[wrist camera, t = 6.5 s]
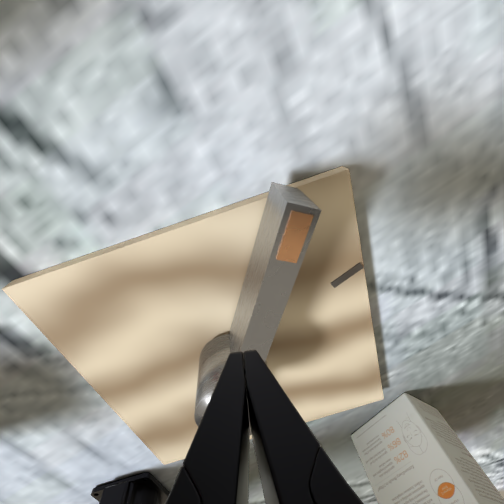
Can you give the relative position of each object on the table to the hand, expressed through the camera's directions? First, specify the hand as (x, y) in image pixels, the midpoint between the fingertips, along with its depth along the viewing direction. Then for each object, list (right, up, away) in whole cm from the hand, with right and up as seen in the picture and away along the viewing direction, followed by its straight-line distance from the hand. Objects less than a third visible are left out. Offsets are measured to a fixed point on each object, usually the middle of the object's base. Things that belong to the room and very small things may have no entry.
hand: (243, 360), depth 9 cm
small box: (+15, -14, +21) cm, 30 cm away
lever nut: (0, -1, +11) cm, 11 cm away
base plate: (-1, -4, +13) cm, 14 cm away
